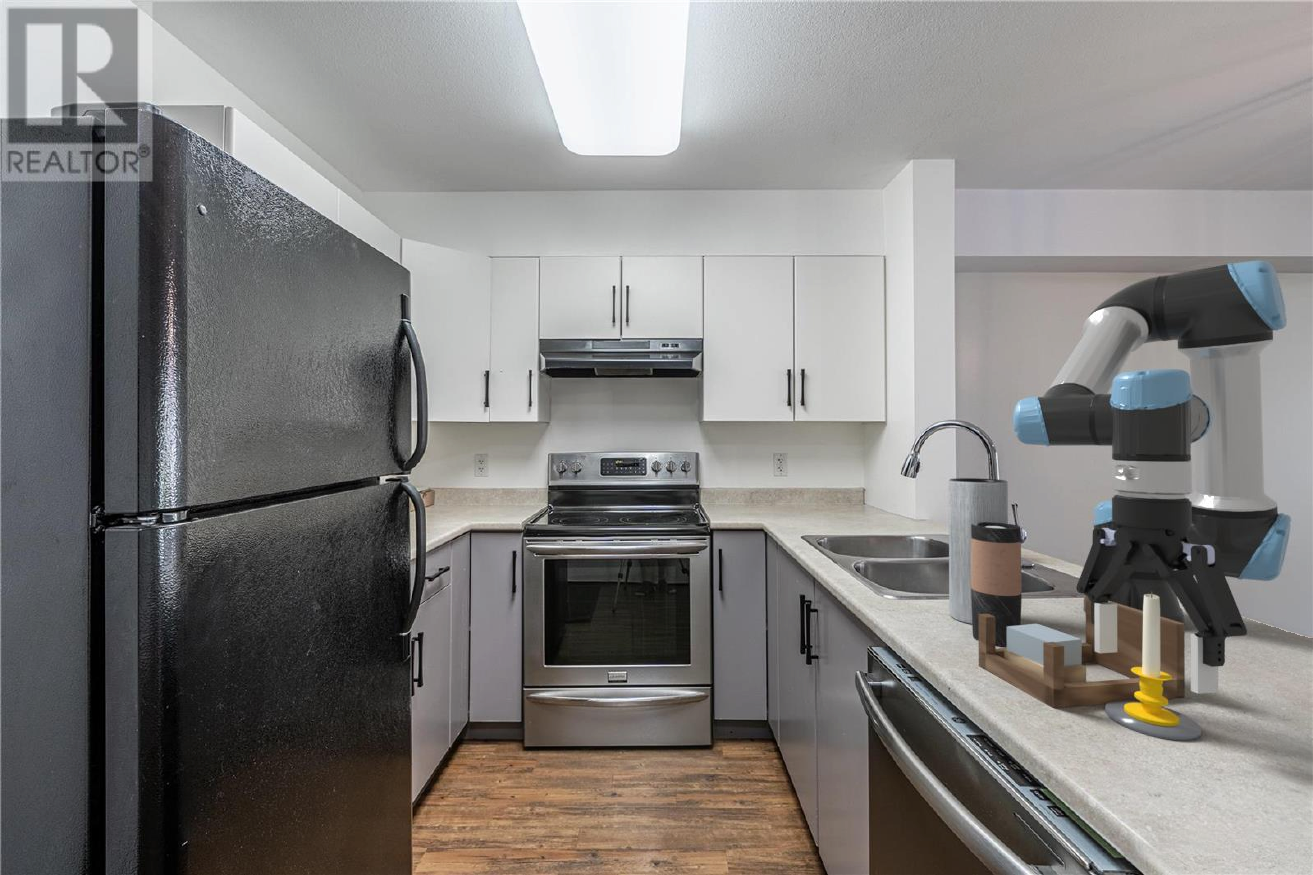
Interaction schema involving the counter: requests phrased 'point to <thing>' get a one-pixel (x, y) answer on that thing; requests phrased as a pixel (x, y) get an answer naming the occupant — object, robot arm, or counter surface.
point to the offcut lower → (1070, 672)
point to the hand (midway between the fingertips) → (1151, 670)
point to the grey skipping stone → (1180, 732)
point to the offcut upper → (1031, 641)
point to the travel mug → (996, 576)
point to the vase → (968, 507)
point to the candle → (1151, 672)
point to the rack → (1120, 661)
